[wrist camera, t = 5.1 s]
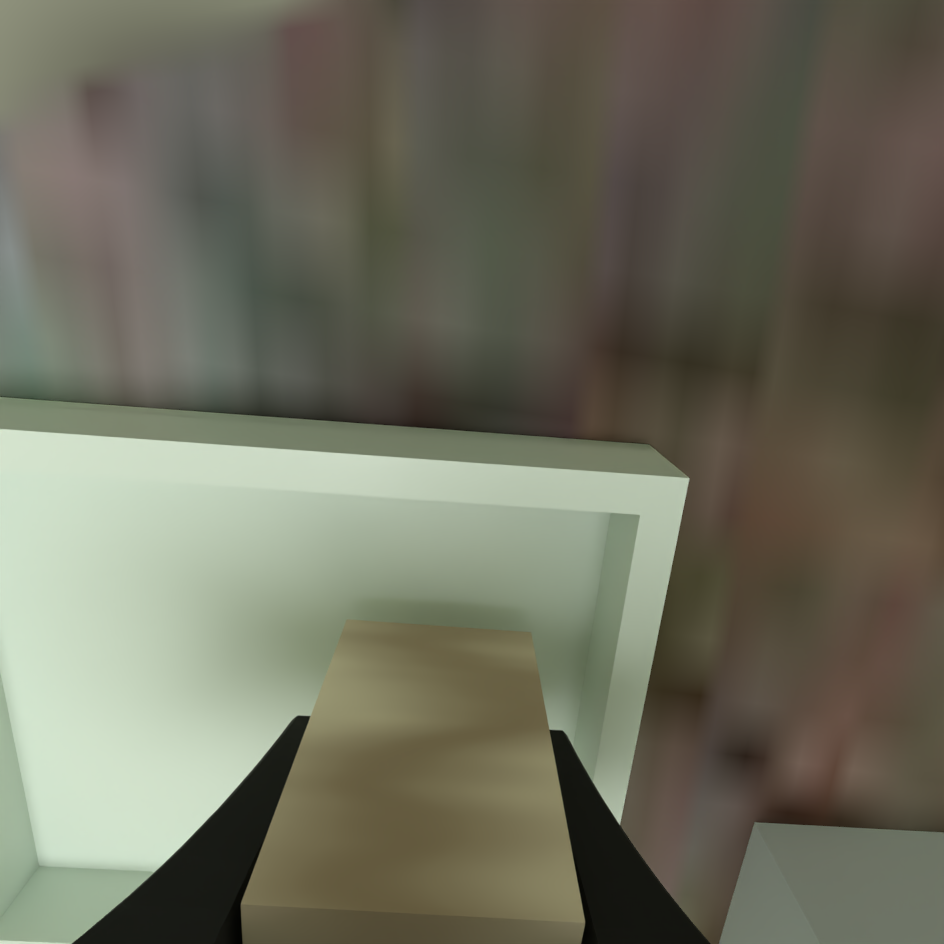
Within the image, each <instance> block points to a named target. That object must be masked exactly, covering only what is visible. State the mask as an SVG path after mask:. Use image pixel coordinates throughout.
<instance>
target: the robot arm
mask: <svg viewBox="0 0 944 944" xmlns="http://www.w3.org/2000/svg"><path fill="white" fill-rule="evenodd" d="M309 719H310V716H301V715H298V716H296V717H295V718H294V719H292V721H291V722H290V723H289V725H288V726H287V727H286V728H285V730H284V731H283V732H282V734H281V735H280V736H279V738H278V739H277V740H276V741H275V743H274V744H273V745H272V746H271V748H270V749H269V750H268V751H267V753H266V754H265V755H264V756H263V757H262V759H261V760H260V761H259V762H258V763H257V765H256V766H255V767H254V768H253V770H252V771H251V772H250V773H249V774H248V775H247V776H246V778H245V779H244V780H243V781H242V782H241V783H240V784H239V786H238V787H237V788H236V789H235V790H234V791H233V792H232V793H231V795H230V796H229V797H228V798H227V799H226V800H225V801H224V803H223V804H222V805H221V806H220V807H219V808H218V809H217V810H216V811H215V812H214V813H213V814H212V815H211V816H210V817H209V818H208V819H207V820H206V822H205V823H204V824H203V825H202V826H201V827H200V828H199V829H198V830H197V831H196V832H195V833H194V834H193V835H192V836H191V837H190V838H189V839H188V840H187V841H186V842H185V843H184V844H183V845H182V846H181V847H180V848H179V849H178V850H177V851H176V852H175V853H174V854H173V855H172V856H171V857H170V858H169V859H168V860H167V861H166V862H165V863H164V864H163V865H162V866H161V867H160V868H158V869H157V870H156V871H155V872H154V873H153V874H152V875H151V876H150V877H149V878H148V879H147V880H145V881H144V882H143V883H142V884H141V885H140V886H139V887H138V888H137V889H136V890H134V891H133V892H132V893H131V894H130V895H129V896H128V897H127V898H125V899H124V900H123V901H122V902H121V903H120V904H118V905H117V906H116V907H115V908H114V909H112V910H111V911H110V912H109V913H108V914H107V915H105V916H104V917H103V918H102V919H101V920H99V921H98V922H97V923H96V924H95V925H94V926H92V927H91V928H90V929H89V930H88V931H86V932H85V933H84V934H83V935H82V936H80V937H79V938H78V939H77V940H75V941H74V942H73V943H72V944H243V941H242V922H241V902H242V899H243V897H244V894H245V891H246V888H247V886H248V883H249V880H250V878H251V875H252V872H253V870H254V867H255V864H256V862H257V859H258V856H259V854H260V851H261V848H262V845H263V843H264V840H265V837H266V835H267V832H268V829H269V827H270V824H271V821H272V819H273V816H274V813H275V811H276V808H277V805H278V802H279V800H280V797H281V794H282V792H283V789H284V786H285V784H286V781H287V778H288V776H289V773H290V770H291V768H292V765H293V762H294V759H295V757H296V754H297V751H298V749H299V746H300V743H301V741H302V738H303V735H304V733H305V730H306V727H307V725H308V722H309ZM549 731H550V736H551V741H552V747H553V752H554V757H555V763H556V768H557V773H558V779H559V784H560V790H561V795H562V800H563V806H564V811H565V816H566V822H567V827H568V832H569V838H570V843H571V849H572V854H573V859H574V865H575V870H576V875H577V881H578V886H579V892H580V897H581V902H582V908H583V913H584V918H585V927H584V932H583V937H582V942H581V944H710V943H709V941H708V940H707V939H706V938H705V937H704V936H703V934H702V933H701V932H700V931H699V930H698V929H697V928H696V926H695V925H694V924H693V923H692V922H691V920H690V919H689V918H688V917H687V915H686V914H685V913H684V912H683V911H682V909H681V908H680V907H679V906H678V904H677V903H676V902H675V901H674V899H673V898H672V897H671V896H670V894H669V893H668V892H667V891H666V889H665V888H664V887H663V885H662V884H661V883H660V881H659V880H658V879H657V877H656V876H655V875H654V873H653V872H652V871H651V869H650V868H649V866H648V865H647V864H646V862H645V861H644V860H643V858H642V857H641V855H640V854H639V853H638V851H637V850H636V848H635V847H634V845H633V844H632V843H631V841H630V840H629V838H628V837H627V835H626V834H625V832H624V831H623V829H622V828H621V826H620V825H619V823H618V822H617V820H616V818H615V817H614V815H613V814H612V812H611V811H610V809H609V808H608V806H607V805H606V803H605V801H604V800H603V798H602V797H601V795H600V793H599V792H598V790H597V788H596V787H595V785H594V783H593V782H592V780H591V778H590V776H589V775H588V773H587V771H586V769H585V768H584V766H583V764H582V762H581V761H580V759H579V757H578V755H577V753H576V751H575V750H574V748H573V746H572V744H571V742H570V740H569V738H568V736H567V735H566V734H565V732H564V731H563V730H549Z"/></svg>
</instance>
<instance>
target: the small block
mask: <svg viewBox="0 0 944 944" xmlns="http://www.w3.org/2000/svg"><path fill="white" fill-rule="evenodd" d="M241 922H242V941H243V944H581V942H582V937H583V932H584V927H585V918H584V913H583V908H582V902H581V897H580V892H579V886H578V881H577V875H576V870H575V865H574V859H573V854H572V849H571V843H570V838H569V832H568V827H567V822H566V816H565V811H564V806H563V800H562V795H561V790H560V784H559V779H558V773H557V768H556V763H555V757H554V752H553V747H552V741H551V736H550V731H549V725H548V720H547V714H546V709H545V704H544V698H543V693H542V688H541V682H540V677H539V671H538V666H537V661H536V655H535V650H534V645H533V639H532V634H531V632H522V631H508V630H493V629H479V628H464V627H450V626H436V625H421V624H407V623H393V622H378V621H364V620H349V619H347V620H346V622H345V625H344V628H343V630H342V633H341V636H340V639H339V641H338V644H337V647H336V649H335V652H334V655H333V657H332V660H331V663H330V665H329V668H328V671H327V673H326V676H325V679H324V682H323V684H322V687H321V690H320V692H319V695H318V698H317V700H316V703H315V706H314V708H313V711H312V714H311V716H310V719H309V722H308V725H307V727H306V730H305V733H304V735H303V738H302V741H301V743H300V746H299V749H298V751H297V754H296V757H295V759H294V762H293V765H292V768H291V770H290V773H289V776H288V778H287V781H286V784H285V786H284V789H283V792H282V794H281V797H280V800H279V802H278V805H277V808H276V811H275V813H274V816H273V819H272V821H271V824H270V827H269V829H268V832H267V835H266V837H265V840H264V843H263V845H262V848H261V851H260V854H259V856H258V859H257V862H256V864H255V867H254V870H253V872H252V875H251V878H250V880H249V883H248V886H247V888H246V891H245V894H244V897H243V899H242V902H241Z"/></svg>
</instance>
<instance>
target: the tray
mask: <svg viewBox="0 0 944 944" xmlns="http://www.w3.org/2000/svg"><path fill="white" fill-rule="evenodd" d="M688 483H689V477H687V476H686V475H685V474H684V473H683V472H681V471H680V470H679V469H678V468H677V467H675V466H674V465H673V464H672V463H671V462H669V461H668V460H667V459H666V458H665V457H663V456H662V455H661V454H660V453H659V452H657V451H656V450H655V449H654V448H653V447H651V446H650V445H649V444H638V443H624V442H610V441H597V440H583V439H569V438H555V437H542V436H528V435H514V434H501V433H487V432H473V431H459V430H446V429H432V428H418V427H405V426H391V425H377V424H364V423H350V422H336V421H322V420H309V419H295V418H281V417H268V416H254V415H240V414H226V413H213V412H199V411H185V410H172V409H158V408H144V407H131V406H117V405H103V404H89V403H76V402H62V401H48V400H35V399H21V398H7V397H0V944H72V943H73V942H74V941H75V940H77V939H78V938H79V937H80V936H82V935H83V934H84V933H85V932H86V931H88V930H89V929H90V928H91V927H92V926H94V925H95V924H96V923H97V922H98V921H99V920H101V919H102V918H103V917H104V916H105V915H107V914H108V913H109V912H110V911H111V910H112V909H114V908H115V907H116V906H117V905H118V904H120V903H121V902H122V901H123V900H124V899H125V898H127V897H128V896H129V895H130V894H131V893H132V892H133V891H134V890H136V889H137V888H138V887H139V886H140V885H141V884H142V883H143V882H144V881H145V880H147V879H148V878H149V877H150V876H151V875H152V874H153V873H154V872H155V871H156V870H157V869H158V868H160V867H161V866H162V865H163V864H164V863H165V862H166V861H167V860H168V859H169V858H170V857H171V856H172V855H173V854H174V853H175V852H176V851H177V850H178V849H179V848H180V847H181V846H182V845H183V844H184V843H185V842H186V841H187V840H188V839H189V838H190V837H191V836H192V835H193V834H194V833H195V832H196V831H197V830H198V829H199V828H200V827H201V826H202V825H203V824H204V823H205V822H206V820H207V819H208V818H209V817H210V816H211V815H212V814H213V813H214V812H215V811H216V810H217V809H218V808H219V807H220V806H221V805H222V804H223V803H224V801H225V800H226V799H227V798H228V797H229V796H230V795H231V793H232V792H233V791H234V790H235V789H236V788H237V787H238V786H239V784H240V783H241V782H242V781H243V780H244V779H245V778H246V776H247V775H248V774H249V773H250V772H251V771H252V770H253V768H254V767H255V766H256V765H257V763H258V762H259V761H260V760H261V759H262V757H263V756H264V755H265V754H266V753H267V751H268V750H269V749H270V748H271V746H272V745H273V744H274V743H275V741H276V740H277V739H278V738H279V736H280V735H281V734H282V732H283V731H284V730H285V728H286V727H287V726H288V725H289V723H290V722H291V721H292V719H294V718H295V717H296V716H298V715H301V716H311V714H312V711H313V708H314V706H315V703H316V700H317V698H318V695H319V692H320V690H321V687H322V684H323V682H324V679H325V676H326V673H327V671H328V668H329V665H330V663H331V660H332V657H333V655H334V652H335V649H336V647H337V644H338V641H339V639H340V636H341V633H342V630H343V628H344V625H345V622H346V620H347V619H349V620H364V621H378V622H393V623H407V624H421V625H436V626H450V627H464V628H479V629H493V630H508V631H522V632H531V634H532V639H533V645H534V650H535V655H536V661H537V666H538V671H539V677H540V682H541V688H542V693H543V698H544V704H545V709H546V714H547V720H548V725H549V730H563V731H564V732H565V734H566V735H567V736H568V738H569V740H570V742H571V744H572V746H573V748H574V750H575V751H576V753H577V755H578V757H579V759H580V761H581V762H582V764H583V766H584V768H585V769H586V771H587V773H588V775H589V776H590V778H591V780H592V782H593V783H594V785H595V787H596V788H597V790H598V792H599V793H600V795H601V797H602V798H603V800H604V801H605V803H606V805H607V806H608V808H609V809H610V811H611V812H612V814H613V815H614V817H615V818H616V820H617V822H618V823H619V825H620V822H621V817H622V812H623V807H624V802H625V797H626V792H627V787H628V782H629V777H630V772H631V767H632V762H633V757H634V752H635V747H636V742H637V737H638V732H639V727H640V722H641V717H642V712H643V707H644V702H645V697H646V692H647V687H648V682H649V677H650V672H651V667H652V662H653V657H654V652H655V647H656V642H657V637H658V632H659V627H660V622H661V617H662V612H663V607H664V602H665V597H666V592H667V587H668V582H669V577H670V573H671V568H672V563H673V558H674V553H675V548H676V543H677V538H678V533H679V528H680V523H681V518H682V513H683V508H684V503H685V498H686V493H687V488H688Z"/></svg>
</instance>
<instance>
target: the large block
mask: <svg viewBox="0 0 944 944" xmlns="http://www.w3.org/2000/svg"><path fill="white" fill-rule="evenodd" d="M719 944H944V832H925V831H907V830H888V829H869V828H850V827H832V826H813V825H794V824H776V823H757V822H754V826H753V829H752V833H751V836H750V840H749V843H748V846H747V850H746V853H745V857H744V860H743V863H742V867H741V870H740V874H739V877H738V880H737V884H736V887H735V891H734V894H733V897H732V901H731V904H730V908H729V911H728V914H727V918H726V921H725V925H724V928H723V932H722V935H721V938H720V942H719Z"/></svg>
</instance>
